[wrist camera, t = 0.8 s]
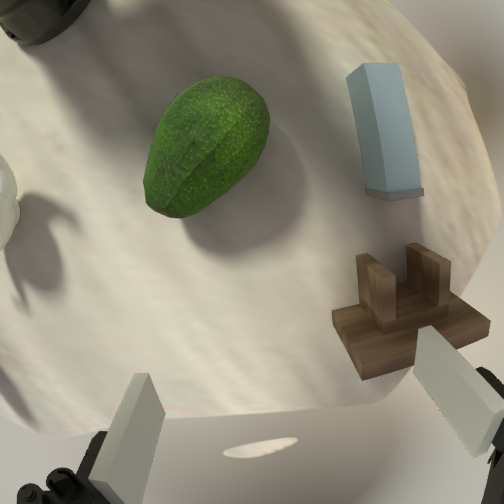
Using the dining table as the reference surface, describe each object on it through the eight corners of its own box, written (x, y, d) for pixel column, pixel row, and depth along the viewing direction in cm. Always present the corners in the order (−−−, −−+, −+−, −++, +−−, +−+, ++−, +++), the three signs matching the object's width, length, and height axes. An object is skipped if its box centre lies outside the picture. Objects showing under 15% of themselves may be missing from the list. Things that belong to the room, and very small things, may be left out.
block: (344, 77, 31) (364, 61, 25) (377, 76, 31) (400, 62, 25) (366, 194, 35) (389, 201, 29) (397, 190, 35) (424, 195, 29)
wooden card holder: (326, 261, 37) (360, 303, 25) (439, 237, 37) (497, 265, 25) (332, 324, 39) (362, 380, 28) (438, 296, 39) (488, 336, 27)
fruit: (199, 230, 36) (183, 255, 26) (132, 177, 34) (93, 183, 24) (286, 126, 33) (302, 111, 23) (216, 72, 31) (206, 40, 21)
